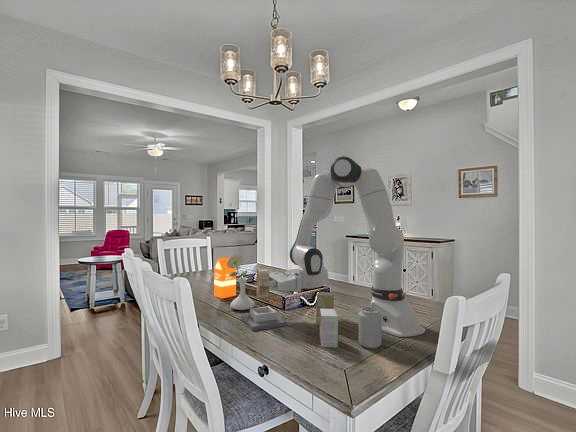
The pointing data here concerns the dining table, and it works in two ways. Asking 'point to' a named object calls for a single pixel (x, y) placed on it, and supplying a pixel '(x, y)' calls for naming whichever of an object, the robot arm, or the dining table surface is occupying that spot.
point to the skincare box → (324, 303)
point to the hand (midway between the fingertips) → (260, 282)
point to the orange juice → (224, 279)
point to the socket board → (263, 318)
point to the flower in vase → (242, 300)
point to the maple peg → (262, 276)
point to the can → (370, 327)
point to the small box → (328, 328)
